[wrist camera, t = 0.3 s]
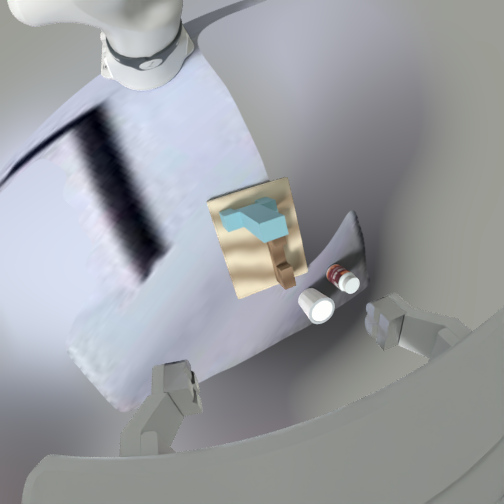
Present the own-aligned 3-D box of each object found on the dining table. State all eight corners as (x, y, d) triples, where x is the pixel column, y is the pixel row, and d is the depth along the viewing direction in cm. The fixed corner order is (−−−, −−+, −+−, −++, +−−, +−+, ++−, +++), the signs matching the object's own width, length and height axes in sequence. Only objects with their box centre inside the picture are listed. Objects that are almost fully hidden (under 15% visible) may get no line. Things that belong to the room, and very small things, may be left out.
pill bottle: (335, 259, 67) (355, 271, 60) (344, 271, 69) (363, 284, 62) (322, 273, 67) (341, 287, 60) (331, 285, 69) (350, 299, 62)
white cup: (300, 315, 69) (313, 329, 63) (292, 294, 66) (305, 307, 60) (323, 301, 70) (337, 314, 64) (316, 280, 67) (331, 292, 61)
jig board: (206, 201, 54) (211, 206, 48) (284, 177, 57) (298, 179, 51) (237, 296, 62) (244, 310, 56) (305, 269, 65) (318, 280, 59)
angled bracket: (218, 212, 54) (239, 230, 39) (266, 196, 56) (302, 209, 41) (223, 226, 55) (244, 250, 40) (269, 210, 57) (306, 227, 42)
